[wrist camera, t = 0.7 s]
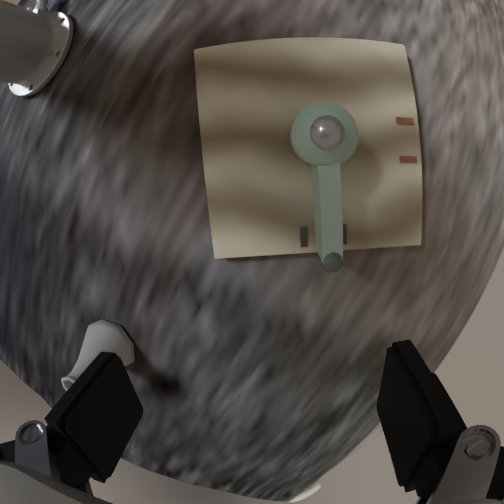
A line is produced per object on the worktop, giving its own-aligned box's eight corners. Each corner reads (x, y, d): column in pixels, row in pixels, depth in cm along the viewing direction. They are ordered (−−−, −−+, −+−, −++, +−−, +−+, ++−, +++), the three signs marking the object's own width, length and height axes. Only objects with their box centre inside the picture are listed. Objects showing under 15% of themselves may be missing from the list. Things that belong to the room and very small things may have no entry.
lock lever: (286, 112, 22) (289, 100, 17) (342, 111, 22) (357, 99, 17) (298, 257, 26) (302, 278, 21) (350, 254, 25) (365, 273, 20)
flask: (125, 318, 32) (82, 366, 22) (143, 365, 34) (111, 418, 24) (82, 318, 32) (38, 359, 23) (101, 362, 34) (66, 407, 25)
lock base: (198, 54, 23) (193, 48, 21) (398, 49, 20) (404, 44, 19) (218, 253, 28) (214, 259, 27) (414, 240, 26) (421, 245, 24)
